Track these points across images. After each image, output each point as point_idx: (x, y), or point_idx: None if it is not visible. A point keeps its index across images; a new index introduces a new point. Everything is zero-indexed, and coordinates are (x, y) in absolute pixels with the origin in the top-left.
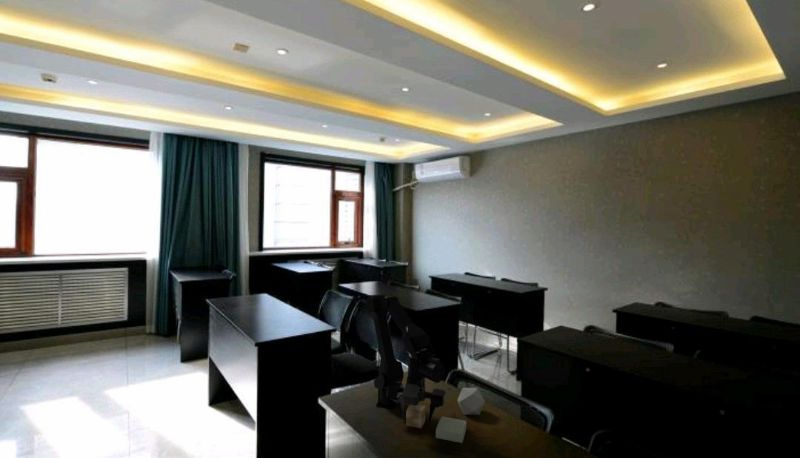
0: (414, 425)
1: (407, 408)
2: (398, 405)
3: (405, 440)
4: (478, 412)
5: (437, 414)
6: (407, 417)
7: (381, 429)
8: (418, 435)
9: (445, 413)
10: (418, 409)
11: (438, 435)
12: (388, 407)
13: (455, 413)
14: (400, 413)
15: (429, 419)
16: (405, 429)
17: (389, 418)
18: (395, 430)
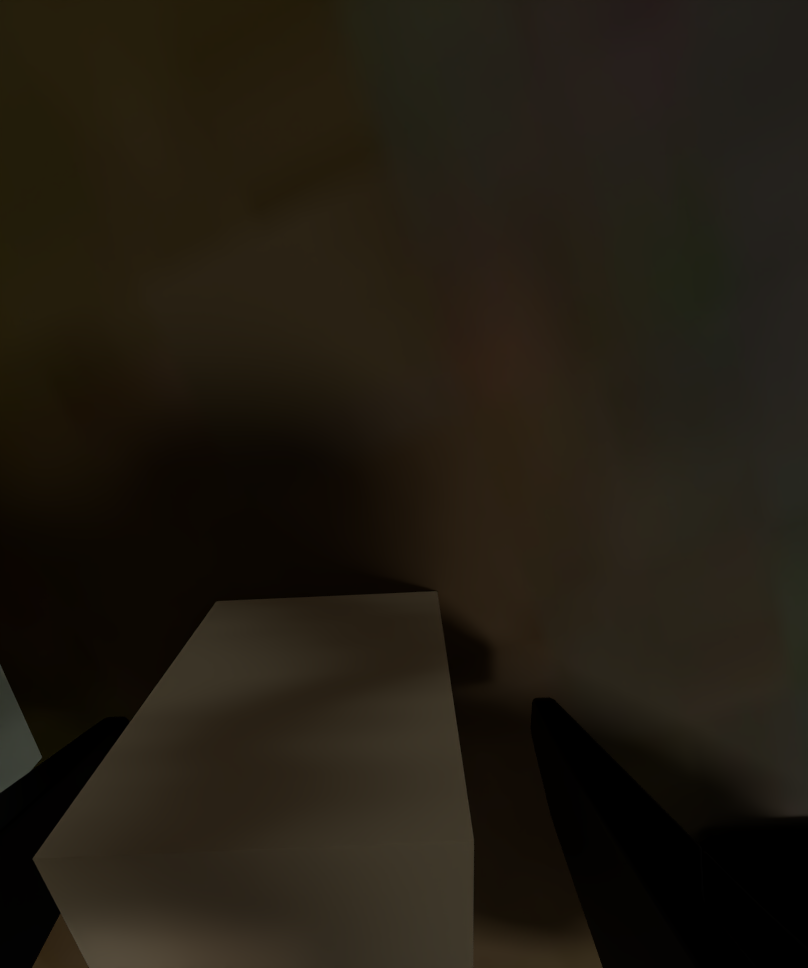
0: (309, 611)
1: (471, 907)
2: (759, 951)
3: (284, 173)
4: None
5: None
6: (425, 684)
7: (784, 347)
8: (162, 420)
9: None
10: (194, 947)
11: None
12: (768, 841)
13: None
14: (591, 750)
15: (59, 762)
16: (409, 496)
17: (706, 658)
18: (548, 411)
